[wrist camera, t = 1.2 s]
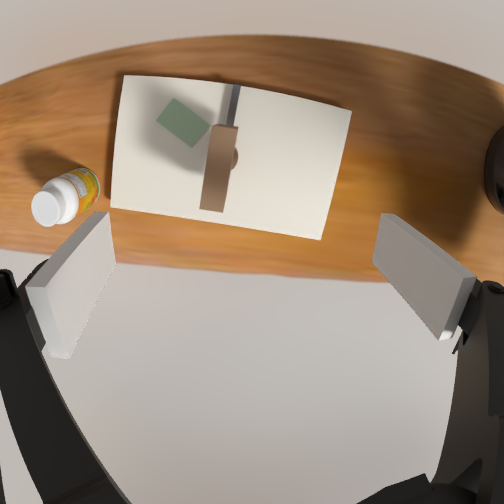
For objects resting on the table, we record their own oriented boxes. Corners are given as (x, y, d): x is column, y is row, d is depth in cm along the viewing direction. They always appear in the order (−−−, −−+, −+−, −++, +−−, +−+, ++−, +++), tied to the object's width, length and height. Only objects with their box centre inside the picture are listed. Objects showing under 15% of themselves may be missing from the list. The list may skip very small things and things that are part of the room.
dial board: (346, 111, 34) (352, 111, 32) (316, 234, 40) (320, 240, 38) (130, 77, 31) (123, 75, 29) (116, 202, 38) (109, 207, 36)
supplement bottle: (79, 213, 38) (42, 241, 29) (60, 180, 36) (19, 200, 27) (108, 194, 37) (73, 219, 28) (89, 159, 35) (48, 174, 26)
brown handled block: (232, 187, 35) (228, 213, 26) (206, 183, 35) (193, 208, 26) (251, 87, 31) (254, 76, 22) (223, 83, 30) (215, 70, 21)
